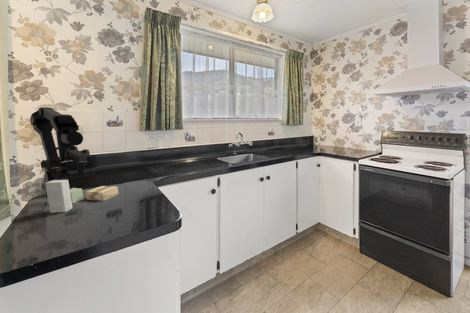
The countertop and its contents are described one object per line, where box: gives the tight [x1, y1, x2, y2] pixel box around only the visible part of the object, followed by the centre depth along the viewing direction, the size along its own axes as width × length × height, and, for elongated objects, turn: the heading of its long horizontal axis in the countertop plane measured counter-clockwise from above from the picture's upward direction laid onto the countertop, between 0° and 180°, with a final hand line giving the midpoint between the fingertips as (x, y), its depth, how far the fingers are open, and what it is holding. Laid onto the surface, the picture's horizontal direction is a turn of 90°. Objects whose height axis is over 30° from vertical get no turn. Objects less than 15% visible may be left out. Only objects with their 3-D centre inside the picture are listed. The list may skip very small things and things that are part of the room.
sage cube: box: [70, 187, 84, 204], centre depth 100 cm, size 5×5×5 cm
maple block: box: [85, 185, 119, 202], centre depth 105 cm, size 9×9×4 cm
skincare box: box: [44, 180, 73, 214], centre depth 88 cm, size 6×4×12 cm
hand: (70, 179), depth 99 cm, fingers open, 9 cm apart
